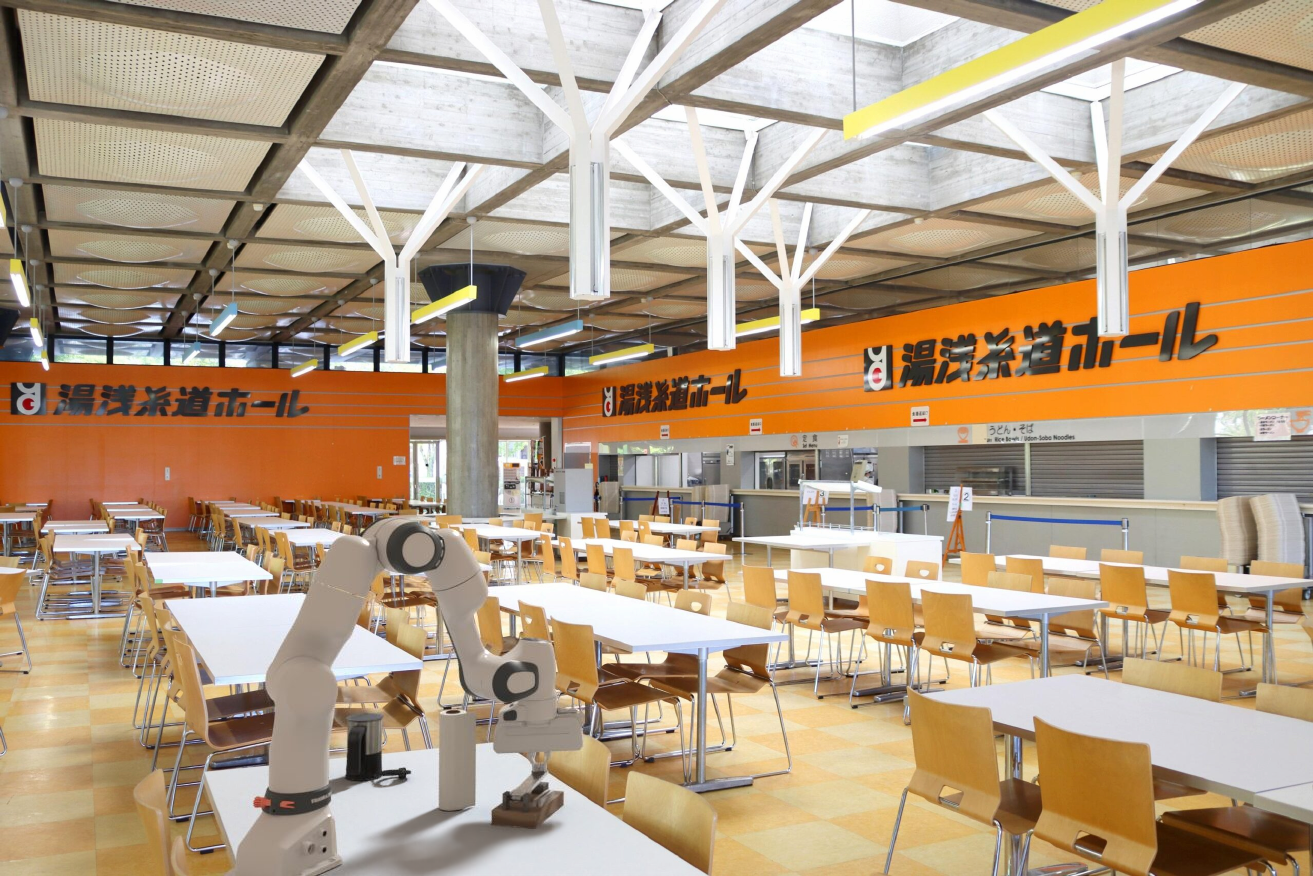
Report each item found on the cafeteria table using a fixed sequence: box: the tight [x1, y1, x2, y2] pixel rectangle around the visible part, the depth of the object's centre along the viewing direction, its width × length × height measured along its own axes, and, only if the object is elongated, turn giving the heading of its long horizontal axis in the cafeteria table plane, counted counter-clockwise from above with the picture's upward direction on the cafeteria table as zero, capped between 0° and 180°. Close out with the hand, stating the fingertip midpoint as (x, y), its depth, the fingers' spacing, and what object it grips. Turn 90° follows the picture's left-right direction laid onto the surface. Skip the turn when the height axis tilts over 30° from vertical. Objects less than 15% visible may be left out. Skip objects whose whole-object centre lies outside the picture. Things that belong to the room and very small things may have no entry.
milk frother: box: [344, 713, 412, 781], centre depth 254 cm, size 14×16×15 cm
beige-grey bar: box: [508, 766, 549, 802], centre depth 224 cm, size 16×3×2 cm, turn 165°
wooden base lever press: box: [490, 781, 565, 829], centre depth 224 cm, size 17×10×6 cm, turn 164°
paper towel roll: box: [438, 709, 477, 812], centre depth 229 cm, size 7×6×21 cm
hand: (539, 771), depth 229 cm, fingers closed, pressing on beige-grey bar
